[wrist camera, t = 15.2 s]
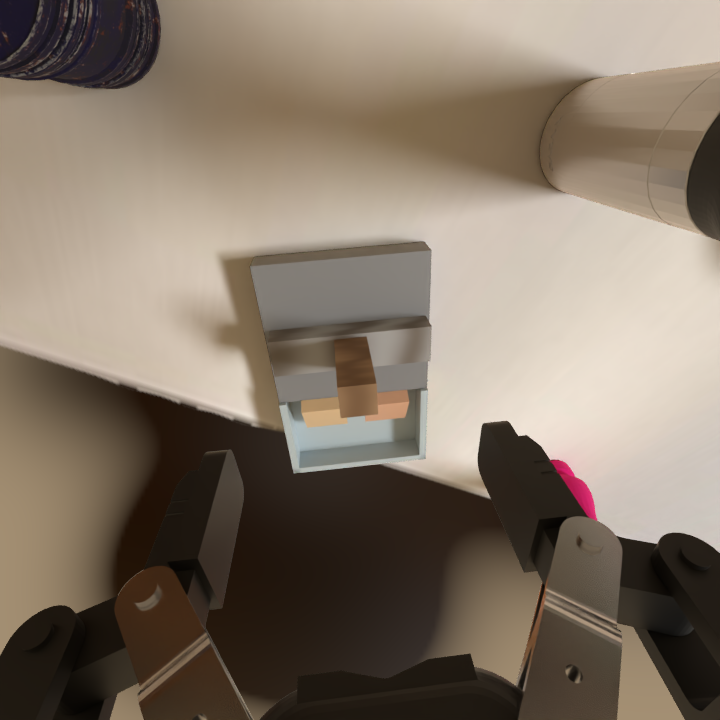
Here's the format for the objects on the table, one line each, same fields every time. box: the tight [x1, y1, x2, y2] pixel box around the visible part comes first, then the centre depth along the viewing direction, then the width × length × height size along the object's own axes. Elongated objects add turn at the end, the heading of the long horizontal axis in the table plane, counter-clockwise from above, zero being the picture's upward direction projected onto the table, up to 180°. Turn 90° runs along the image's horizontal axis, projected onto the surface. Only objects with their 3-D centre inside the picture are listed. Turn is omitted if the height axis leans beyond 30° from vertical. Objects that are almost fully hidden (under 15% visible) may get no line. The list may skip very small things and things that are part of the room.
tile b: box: [301, 397, 348, 428], centre depth 47 cm, size 5×5×2 cm
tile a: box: [365, 390, 409, 422], centre depth 47 cm, size 5×5×2 cm
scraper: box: [267, 316, 432, 418], centre depth 37 cm, size 16×4×10 cm, turn 94°
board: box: [250, 242, 431, 403], centre depth 42 cm, size 17×16×3 cm
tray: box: [279, 388, 428, 473], centre depth 49 cm, size 17×11×4 cm, turn 94°
